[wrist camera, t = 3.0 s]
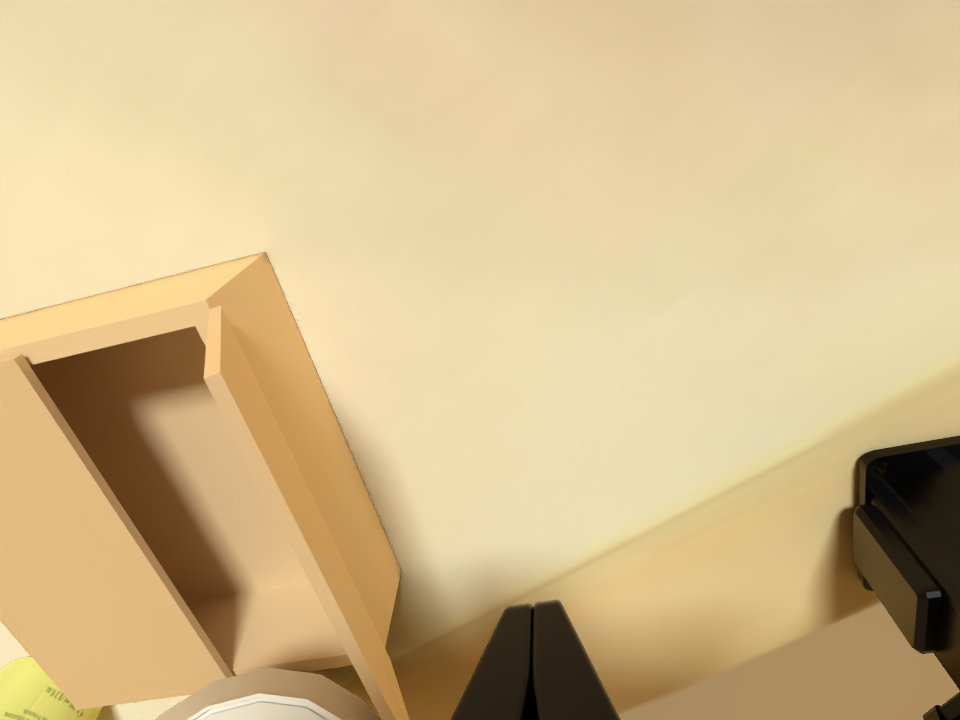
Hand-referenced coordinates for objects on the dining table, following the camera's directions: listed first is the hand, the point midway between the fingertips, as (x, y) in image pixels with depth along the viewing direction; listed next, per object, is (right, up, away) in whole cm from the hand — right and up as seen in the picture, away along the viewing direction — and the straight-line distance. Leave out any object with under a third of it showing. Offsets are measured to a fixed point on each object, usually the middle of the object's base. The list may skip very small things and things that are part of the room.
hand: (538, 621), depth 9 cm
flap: (-5, -1, +7) cm, 8 cm away
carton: (-12, 0, +14) cm, 18 cm away
